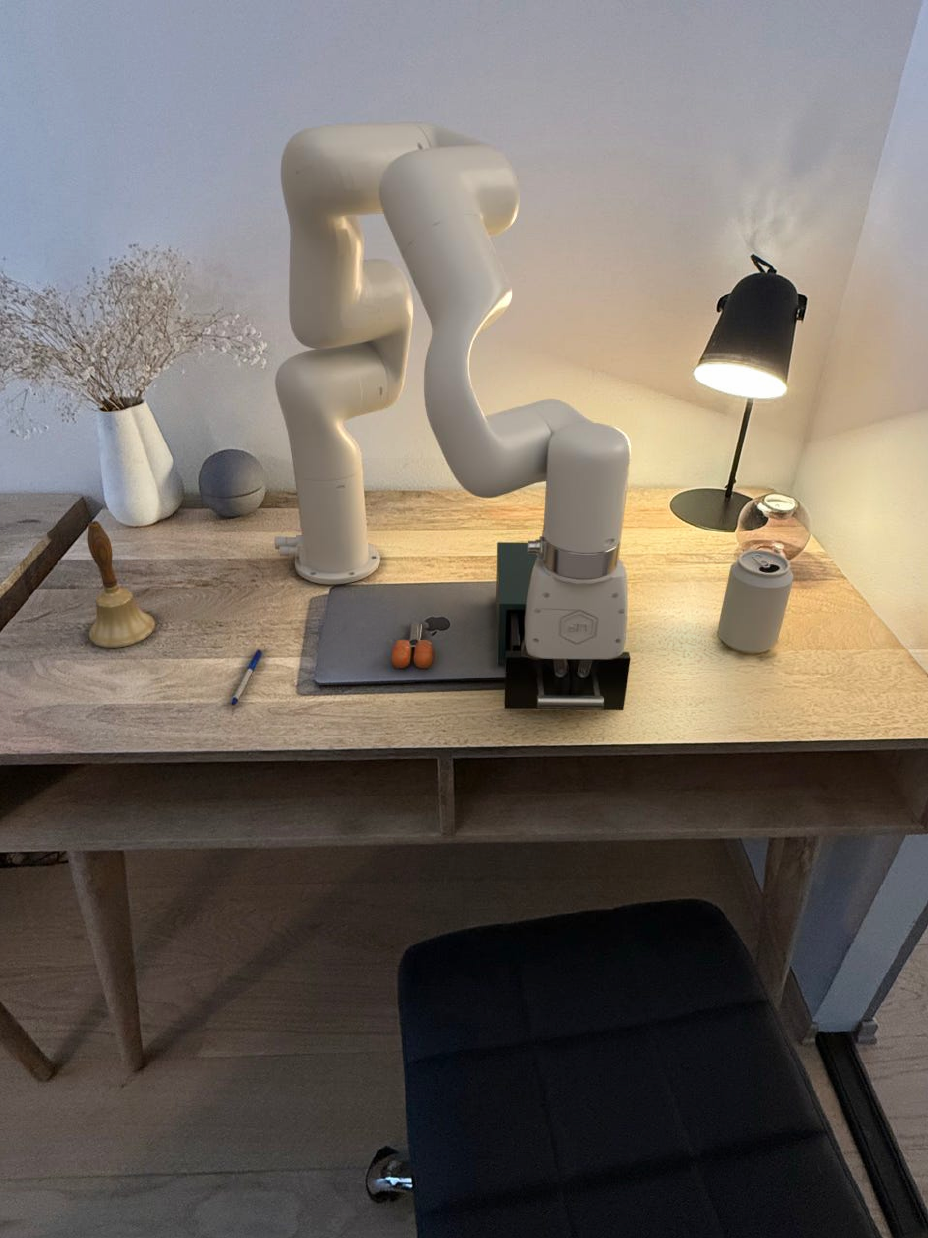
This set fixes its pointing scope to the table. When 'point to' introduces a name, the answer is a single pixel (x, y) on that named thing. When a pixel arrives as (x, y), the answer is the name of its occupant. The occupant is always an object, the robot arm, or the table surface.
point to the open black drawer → (535, 679)
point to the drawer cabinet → (511, 588)
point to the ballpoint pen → (247, 676)
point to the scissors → (413, 650)
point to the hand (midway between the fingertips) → (567, 698)
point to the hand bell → (114, 601)
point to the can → (755, 601)
